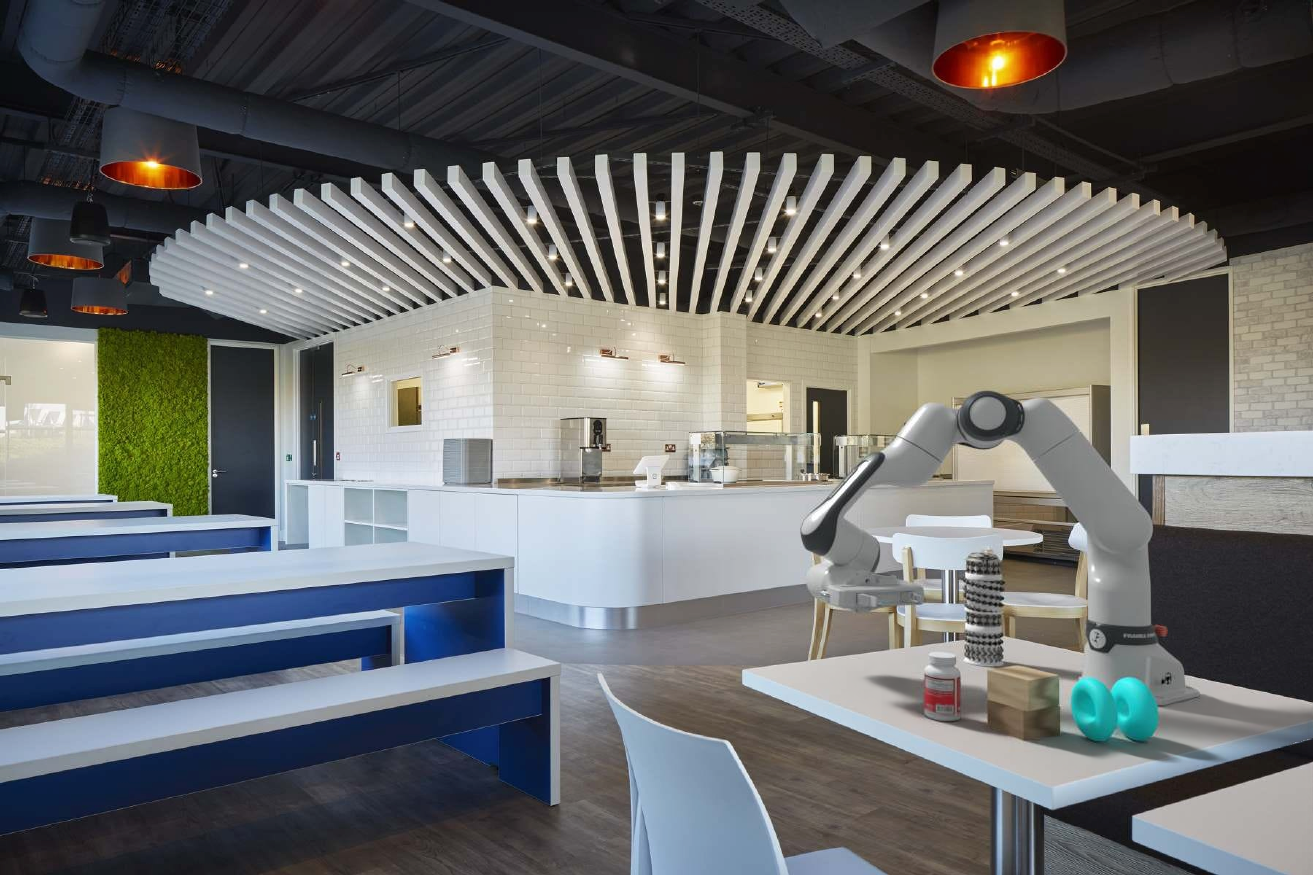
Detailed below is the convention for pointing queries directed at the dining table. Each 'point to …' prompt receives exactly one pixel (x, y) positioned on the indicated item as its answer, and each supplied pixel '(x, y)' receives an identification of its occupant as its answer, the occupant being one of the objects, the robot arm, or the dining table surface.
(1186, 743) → the dining table surface
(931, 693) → the pill bottle
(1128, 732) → the turquoise spool
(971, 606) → the decorative candle
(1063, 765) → the dining table surface
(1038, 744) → the dining table surface
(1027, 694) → the tower top
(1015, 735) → the tower base
